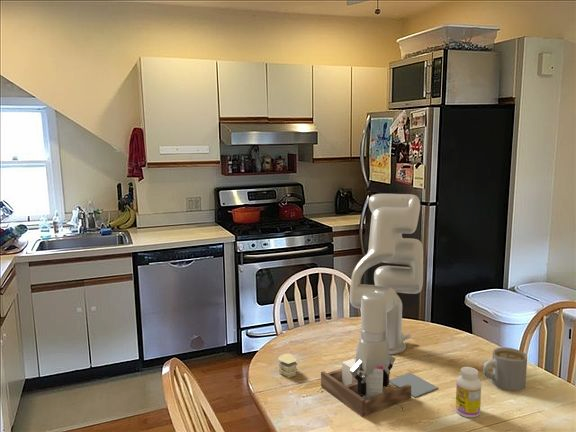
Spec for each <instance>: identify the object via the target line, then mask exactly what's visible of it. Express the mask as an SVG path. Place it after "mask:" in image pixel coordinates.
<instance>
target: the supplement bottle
mask: <svg viewBox="0 0 576 432" xmlns="http://www.w3.org/2000/svg"><path fill="white" fill-rule="evenodd" d="M455 387H456V388H455V389H456V392H455V411H456V413H457V414H459V415H460V416H462V417H465V418H469V419H470V418H476V417H478V416H480V413H481V404H482V403H481V400H482V382H481V380H480V378H479V370H478V369H476V368H474V367H471V366H463V367H461V368H460V375H459V376H458V377H457V379H456V386H455Z"/></svg>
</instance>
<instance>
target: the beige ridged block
mask: <svg viewBox="0 0 576 432" xmlns="http://www.w3.org/2000/svg"><path fill="white" fill-rule="evenodd" d="M277 360H278V361H277V364H278V366H277V370H278V373H279V375H283V376H284V377H286V378H288V379H289V378H292V377H295V376H297V371H299V370H298V368H297V366H298V363H297V361H298V359H297V358H296V357H295V356H294V355H293V354H291V353H284V354H281V355H280V356H279V357H277Z"/></svg>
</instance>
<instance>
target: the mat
mask: <svg viewBox="0 0 576 432" xmlns="http://www.w3.org/2000/svg"><path fill="white" fill-rule="evenodd" d="M389 384H391V385H393V386H395V387H396V388H399V387H402V386H405V385H407V384H409V385H411V397H413V398H415V399H416V398H418V397H421V396H423V395H426V394H428V393H431V392H433V391H437V390H439V387H438V386H437V385H434V384H433V383H431V382H429V381H427V380H425V379H423V378H421V377H419V376H418V375H416V374H414V373H413V372H408V373H407V372H406V373H403V374H402V375H401V374H400V376H396V377H394V378H389Z"/></svg>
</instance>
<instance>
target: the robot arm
mask: <svg viewBox="0 0 576 432" xmlns="http://www.w3.org/2000/svg"><path fill="white" fill-rule="evenodd" d="M368 208H369V211H370V212H371V216H370V217H371V218H370V226H369V227H370V229H369V236H368V237H369V239H368V250H367V253H366V254H365V255H363V257H362V258H360V259H359V261H358V262H357V264H356V265H355V266H354V268H353V271H352V272H351V278H350V279H351V280H350V287H349V302H350V304H351V306H352V307H354V308H356V309H360V338H359V339H358V341H357V345H356V350H355V359H356V360H355V366H354V367H353V368H352V369H351V370H350V373H351V374H352V375H353V377H354V378H355V379H356V380H358V392H359V393H361V394H362V396H363V395H364V396H365V395H366V383H365V380H366V378H367V376H368V375H369V374H372V373H373V370H374V369H376V368H379V367H382V366H383V386H384V387H383V388H389V385H388V375H389V374H390V375H391V370H392V368H393V364H394V363H395V361H396V358H395V357H394V356H392V355H397V354H401V353H403V352H405V350H406V348H407V347H406V344H405V341H406V340H409V339H411V338H412V337H411V333H408V332H407V333H406V334H404V333H403V332H402V331H403V325H402V324H403V302H402V299H401V298H400V296H399V295H398V293H400V294H414V295H415V294H419V293H420V292H421V291H422V290H423V285H424V284H423V283H424V248H423V244H422V241H420V240H419V239H417V238H410V237H409V238H407V237H406V238H405V237H403V235H404V234H407V235H410V234H413V233H415V232H416V230H417V226H418V222H419V218H420V217H419V216H420V211H421V201H420V198H419V196H417V195H416V194H410V193H406V194H405V193H375V194H372V195H371V196H370V197H369V199H368ZM382 263H385V264H393V265H382V266H379V267H377V268H376V269H375V270H374V273H373V281H374V284H364V283H363V284H362V283H361V281H362V280H361V279H362V278H363V275H364V273H365V272H366V271H367V270H369V269H370V268H372V267H373V266H376V265H378V264H382ZM397 265H398V266H397ZM399 265H405V266H399ZM358 370H359V372H358V374H357V371H358ZM362 373H363V376H362V378H361V375H362ZM390 375H389V376H390Z"/></svg>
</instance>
